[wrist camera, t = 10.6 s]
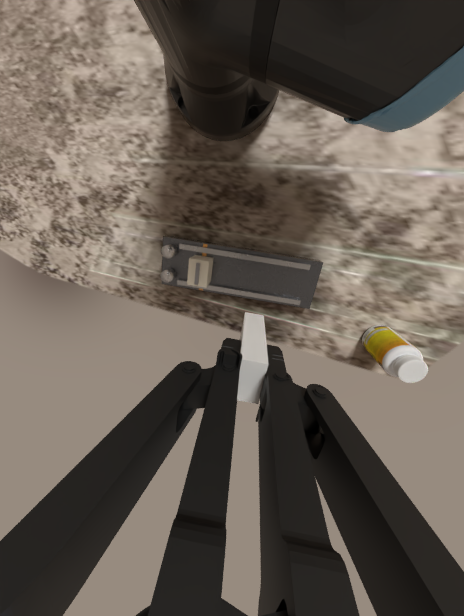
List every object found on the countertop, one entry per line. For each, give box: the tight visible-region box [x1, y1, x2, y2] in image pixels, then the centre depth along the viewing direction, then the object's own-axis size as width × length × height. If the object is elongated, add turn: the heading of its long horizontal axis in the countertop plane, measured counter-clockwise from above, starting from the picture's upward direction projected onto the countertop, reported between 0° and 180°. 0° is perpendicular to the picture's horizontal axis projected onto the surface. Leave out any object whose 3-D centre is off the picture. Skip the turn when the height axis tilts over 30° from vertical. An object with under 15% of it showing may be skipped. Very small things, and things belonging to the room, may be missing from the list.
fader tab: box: [187, 255, 214, 288], centre depth 35 cm, size 4×3×5 cm
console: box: [160, 236, 323, 309], centre depth 38 cm, size 8×26×4 cm, turn 81°
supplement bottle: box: [362, 325, 428, 383], centre depth 37 cm, size 6×6×10 cm
